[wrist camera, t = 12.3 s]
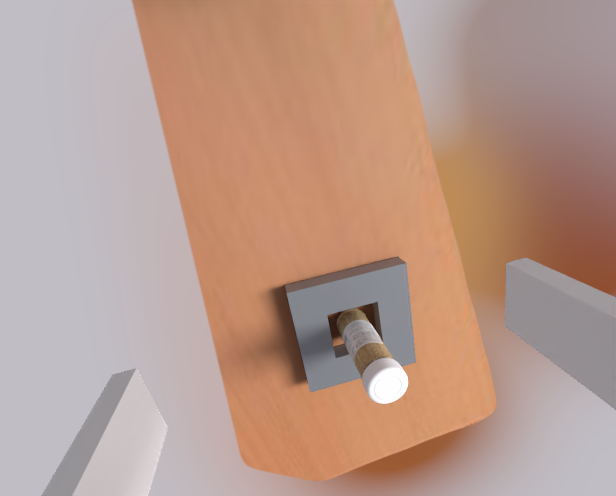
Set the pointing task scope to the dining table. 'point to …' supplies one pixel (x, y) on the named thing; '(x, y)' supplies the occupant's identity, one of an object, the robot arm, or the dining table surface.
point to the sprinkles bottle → (371, 358)
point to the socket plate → (342, 296)
